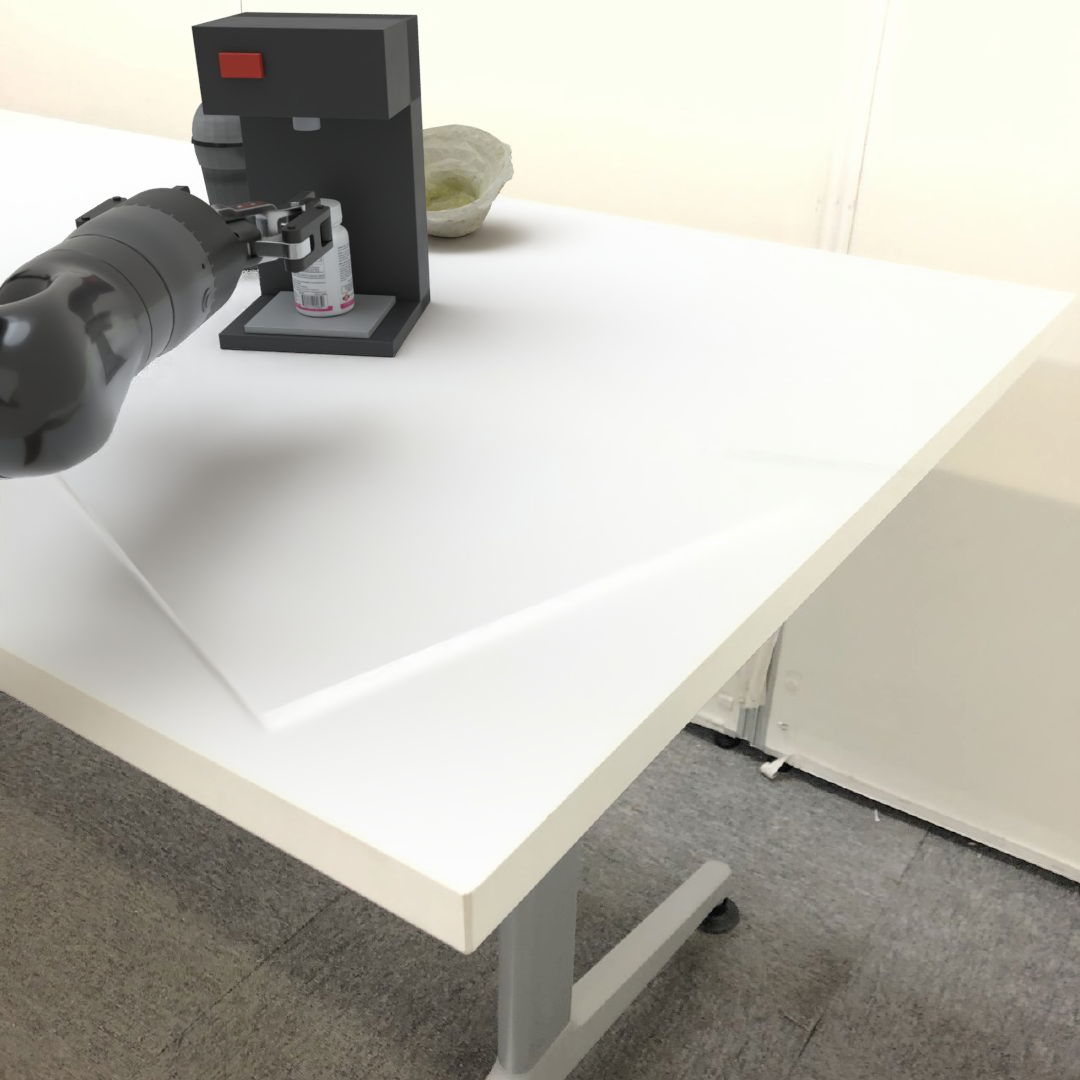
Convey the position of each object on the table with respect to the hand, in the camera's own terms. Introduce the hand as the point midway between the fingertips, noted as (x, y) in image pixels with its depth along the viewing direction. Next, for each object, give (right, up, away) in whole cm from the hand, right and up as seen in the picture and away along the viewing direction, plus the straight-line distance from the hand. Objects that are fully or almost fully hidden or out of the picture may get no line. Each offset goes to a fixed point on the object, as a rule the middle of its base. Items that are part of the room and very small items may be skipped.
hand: (248, 203), depth 74 cm
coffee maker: (+2, -4, +20) cm, 20 cm away
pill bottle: (+2, -4, +17) cm, 18 cm away
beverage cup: (-9, +4, +35) cm, 36 cm away
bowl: (+9, +10, +44) cm, 46 cm away
